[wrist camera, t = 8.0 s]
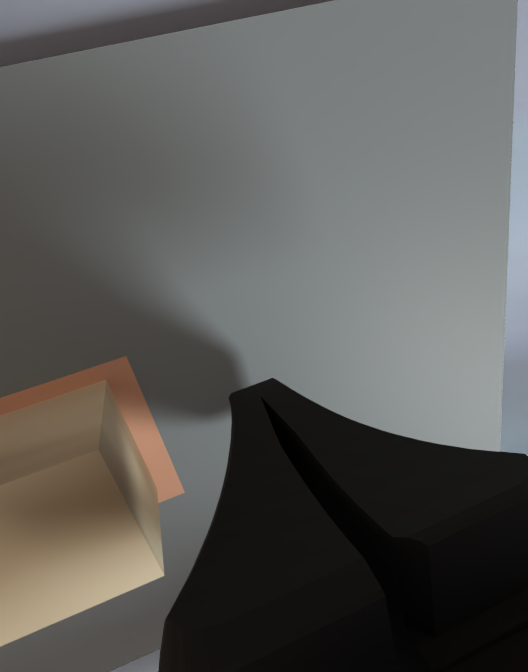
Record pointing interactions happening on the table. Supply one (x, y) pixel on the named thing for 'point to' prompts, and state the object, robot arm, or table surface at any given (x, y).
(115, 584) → the t block
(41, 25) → the table surface
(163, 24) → the table surface
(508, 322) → the table surface
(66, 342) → the slate board
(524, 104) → the table surface
